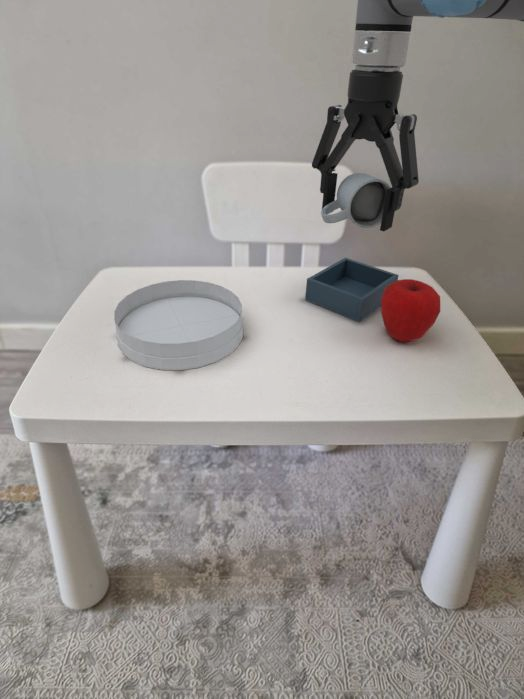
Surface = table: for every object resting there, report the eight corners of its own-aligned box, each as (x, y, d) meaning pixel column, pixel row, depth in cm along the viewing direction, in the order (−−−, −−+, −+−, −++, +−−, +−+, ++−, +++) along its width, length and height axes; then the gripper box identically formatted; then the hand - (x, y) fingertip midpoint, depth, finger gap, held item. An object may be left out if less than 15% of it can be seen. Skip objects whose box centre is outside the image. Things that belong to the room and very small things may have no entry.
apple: (442, 344, 79) (459, 289, 73) (397, 356, 76) (410, 299, 70) (407, 317, 87) (419, 265, 81) (364, 327, 84) (374, 273, 78)
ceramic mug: (370, 210, 82) (376, 166, 78) (390, 226, 76) (398, 179, 71) (314, 214, 80) (317, 169, 76) (329, 231, 74) (333, 182, 69)
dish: (262, 353, 76) (263, 328, 73) (128, 383, 69) (123, 357, 66) (220, 294, 93) (219, 272, 90) (109, 314, 86) (104, 290, 83)
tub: (394, 296, 94) (398, 274, 91) (359, 322, 85) (363, 300, 82) (342, 277, 101) (345, 257, 98) (305, 300, 92) (306, 278, 89)
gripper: (295, 64, 68) (288, 210, 81) (446, 76, 56) (409, 244, 69) (323, 63, 73) (312, 200, 86) (467, 73, 61) (429, 231, 74)
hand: (355, 220), depth 77 cm, fingers closed on ceramic mug, 11 cm apart
